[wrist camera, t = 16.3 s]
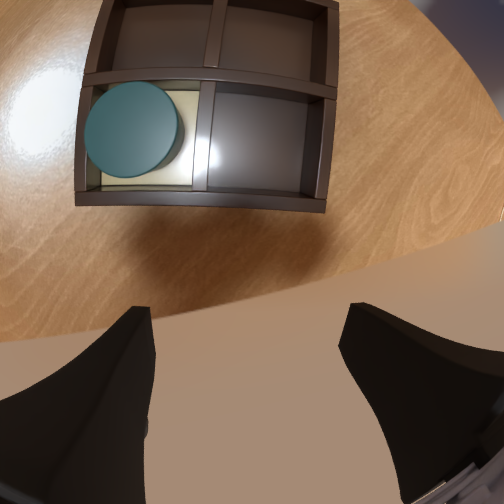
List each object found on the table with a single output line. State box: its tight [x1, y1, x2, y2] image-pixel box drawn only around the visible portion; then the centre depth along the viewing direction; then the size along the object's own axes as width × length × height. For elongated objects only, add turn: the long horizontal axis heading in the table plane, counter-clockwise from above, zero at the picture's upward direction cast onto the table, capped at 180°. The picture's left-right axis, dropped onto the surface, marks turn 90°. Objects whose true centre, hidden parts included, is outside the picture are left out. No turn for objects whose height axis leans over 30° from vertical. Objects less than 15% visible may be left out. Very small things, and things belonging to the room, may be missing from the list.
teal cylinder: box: [84, 81, 185, 178], centre depth 12 cm, size 4×4×4 cm
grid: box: [74, 0, 339, 214], centre depth 13 cm, size 14×14×3 cm
